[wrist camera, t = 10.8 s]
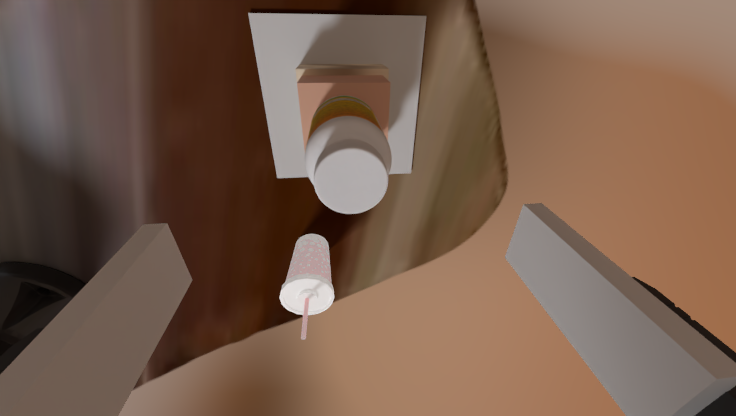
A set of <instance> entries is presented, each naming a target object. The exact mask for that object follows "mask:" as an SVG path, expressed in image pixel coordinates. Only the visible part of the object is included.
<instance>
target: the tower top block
mask: <svg viewBox="0 0 736 416" xmlns="http://www.w3.org/2000/svg"><path fill="white" fill-rule="evenodd" d="M390 84H391V82H389V81H388V80H387V79H386V78H385V77H384V76H383V75H302V76H301V78H300V79H299V81H298V82H297V88H298V97H299V106H300V115H301V124H302V132H303V141H304V150H306V145H307V141H308V135H309V131H310V126H311V121H312V118H313V116H314V113H315V112H316V110H317V109H318V107H319V106H320V105H321V104H322V103H323V102H325V101H326V100H328V99H330V98H332V97H335V96H340V95H348V96H353V97H356V98H358V99H360V100H362V101H364V102H365V103H366V104H367V105H368V106H369V107H370V108H371V109H372V111H373V112H374V114H375V116H376V118H377V120H378V122H379V124H380V126H381V128H382V130H383V132H384V134H385V136H386V138H387V141H388V125H389V104H390Z"/></svg>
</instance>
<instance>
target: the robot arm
mask: <svg viewBox="0 0 736 416" xmlns="http://www.w3.org/2000/svg"><path fill="white" fill-rule="evenodd" d="M505 258H506V259H507V261H508V262H509V263H510V265H511V266H512V267H513V268H514V270H515V271H516V272H517V274H518V275H519V276H520V278H521V279H522V280H523V282H524V283H525V284H526V286H527V287H528V288H529V290H530V291H531V292H532V293H533V295H534V296H535V297H536V299H537V300H538V301H539V303H540V304H541V305H542V306H543V308H544V309H545V310H546V312H547V313H548V314H549V316H550V317H551V318H552V320H553V321H554V322H555V323H556V325H557V326H558V327H559V329H560V330H561V331H562V333H563V334H564V335H565V336H566V338H567V339H568V340H569V342H570V343H571V344H572V346H573V347H574V348H575V349H576V351H577V352H578V353H579V355H580V356H581V357H582V359H583V360H584V361H585V363H586V364H587V365H588V367H589V368H590V369H591V370H592V372H593V373H594V374H595V376H596V377H597V378H598V380H599V381H600V382H601V383H602V385H603V386H604V387H605V389H606V390H607V391H608V393H609V394H610V395H611V397H613V399H614V400H615V402H616V403H617V404H618V406H619V407H620V408H621V410H622V411H623V412H624V413H625V415H626V416H736V353H735V352H734V351H733V350H732V349H730V348H729V347H728V346H727V345H725V344H724V343H723V342H722V341H720V340H719V339H718V338H717V337H715V336H714V335H713V334H711V333H710V332H709V331H708V330H706V329H705V328H704V327H703V326H701V325H700V324H699V323H698V322H696V321H695V320H691V318H690V316H689V315H688V314H686V313H685V312H684V311H683V310H681V309H680V308H679V307H675V304H674V303H673V302H671V301H670V300H669V299H668V298H666V297H665V296H664V295H663V294H661V293H660V292H659V291H658V290H656V289H655V288H653V287H651V286H649V285H648V284H646V283H644V282H642V281H640V280H639V279H637V278H635V277H631V276H629V275H628V274H627V273H626V272H625V271H623V270H622V269H621V268H620V267H619V266H617V265H616V264H615V263H614V262H612V261H611V260H610V259H609V258H608V257H606V256H605V255H604V254H603V253H602V252H600V251H599V250H598V249H597V248H595V247H594V246H593V245H592V244H591V243H589V242H588V241H587V240H586V239H585V238H583V237H582V236H581V235H579V234H578V233H577V232H576V231H575V230H573V229H572V228H571V227H570V226H569V225H567V224H566V223H565V222H564V221H563V220H561V219H560V218H559V217H558V216H556V215H555V214H554V213H553V212H552V211H550V210H549V209H548V208H547V207H545V206H544V205H543V204H542V203H539V204H524V205H523V207H522V210H521V213H520V216H519V219H518V222H517V225H516V227H515V230H514V233H513V236H512V239H511V242H510V245H509V247H508V250H507V253H506V256H505ZM191 282H192V278H191V276H190V274H189V271H188V269H187V267H186V265H185V262H184V260H183V258H182V256H181V253H180V251H179V249H178V247H177V244H176V242H175V240H174V238H173V235H172V233H171V231H170V229H169V226H168V224H167V223H163V224H145V225H143V226H142V227H141V228H140V229H139V230H138V231H137V232H136V233H135V234H134V235H133V236H132V237H131V238H130V239H129V240H128V241H127V242H126V243H125V244H124V245H123V246H122V248H121V249H120V250H119V251H118V252H117V253H116V254H115V255H114V256H113V257H112V258H111V259H110V260H109V261H108V262H107V263H106V264H105V265H104V266H103V267H102V268H101V270H100V271H99V272H98V273H97V274H96V275H95V276H94V277H93V278H92V279H91V280H90V281H89V282H88V283H87V284H86V285H85V284H84V283H82V282H81V281H79V280H77V279H75V278H73V277H71V276H69V275H67V274H65V273H62V272H60V271H57V270H54V269H51V268H47V267H43V266H39V265H34V264H27V263H12V262H11V263H0V416H118V415H119V413H120V411H121V410H122V408H123V406H124V404H125V402H126V401H127V399H128V397H129V395H130V393H131V391H132V390H133V388H134V386H135V384H136V382H137V380H138V379H139V377H140V375H141V373H142V371H143V369H144V368H145V366H146V364H147V362H148V360H149V359H150V357H151V355H152V353H153V351H154V349H155V348H156V346H157V344H158V342H159V340H160V338H161V337H162V335H163V333H164V331H165V329H166V327H167V326H168V324H169V322H170V320H171V318H172V317H173V315H174V313H175V311H176V309H177V307H178V306H179V304H180V302H181V300H182V298H183V296H184V295H185V293H186V291H187V289H188V287H189V285H190V284H191Z"/></svg>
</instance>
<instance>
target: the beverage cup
mask: <svg viewBox="0 0 736 416" xmlns="http://www.w3.org/2000/svg"><path fill="white" fill-rule="evenodd" d="M333 300H334V289H333V285H332V284H331V271H330V257H329V246H328V242H327V241H326V239H325V238H324V237H322V236H320V235H317V234H306V235H304V236H302V237H300V238H299V239H298V240H297V242H296V246H295V249H294V253H293V257H292V260H291V264H290V268H289V271H288V275H287V279H286V282H285V283H284V284H283V285H282V289H281V293H280V301H281V303H282V305H283V306H284V307H285V308H286V309H287V310H288V311H291V312H293V313H296V314H301V315H303V323H302V333H301V339H302V340H304V339H306V329H307V319H308V318H307V317H308V315H313V314H318V313H320V312H323V311H325V310H327V309H328V308H329V307H330V306H331V305H332V303H333Z"/></svg>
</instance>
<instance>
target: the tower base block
mask: <svg viewBox="0 0 736 416" xmlns="http://www.w3.org/2000/svg"><path fill="white" fill-rule="evenodd" d="M295 70H296V79H297V82H298V81H299V79H300V78H301V76H302V75H383V76H384V77H385V78H386V79H387V80H388V78H389V69H388V68H387V67H386V66H384V65H383V64H299V66H298V67H297V68H296V69H295Z"/></svg>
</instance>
